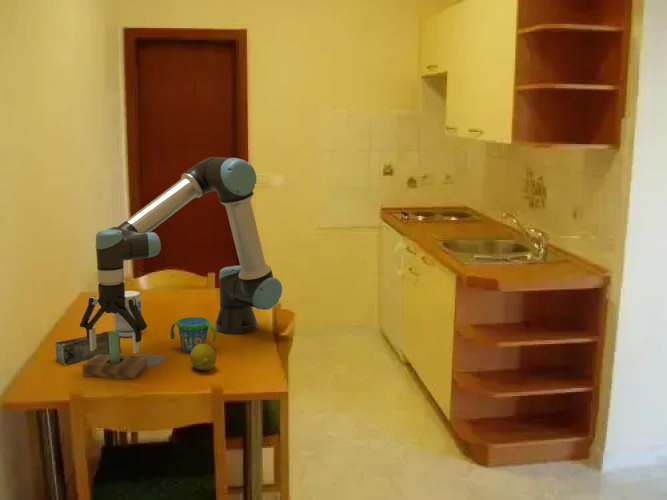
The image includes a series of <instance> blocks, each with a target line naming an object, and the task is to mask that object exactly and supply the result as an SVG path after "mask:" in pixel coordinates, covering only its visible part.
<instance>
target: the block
mask: <svg viewBox="0 0 667 500" xmlns="http://www.w3.org/2000/svg"><path fill="white" fill-rule="evenodd" d="M147 369H148V366H147V357H140V356H137V355H121V354H120V363H119V364H117V363H110V355H106V354H97V355H96V356H94V357H93V358H91V359H88V360H87V361H85V362H84V363H83V364H82V377H86V378H103V379H117V380H118V379H119V380H133V381H134V380H136V378H138V377H140V376H141V374H143V373H144V371H146V370H147Z"/></svg>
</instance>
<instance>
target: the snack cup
mask: <svg viewBox="0 0 667 500" xmlns="http://www.w3.org/2000/svg"><path fill="white" fill-rule="evenodd" d="M175 326H177V329H178V334H179V340H180V345H181V349H182V351H183V352H184V353H189V354H191V351H192V349H193V348H194V347H195V346H197V345H199V344H207V338H208V330H209V328H210V330H211V332H212V333H213V338H212V343H213V344H214V343H215V342H216V340H217V337H218V336H217V330H216V326H214V325H213V323H211V322H210V320H209V319H208V318H206V317H202V316H187V317H183V318H182V317H181V318H180V319H178V320H176V321H175V322H174V323H173V324H172V325H171V326H170V331H169V335H170V339H171V340H174V339H175V335H176V334H175V331H174V330H175Z"/></svg>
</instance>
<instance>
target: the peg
mask: <svg viewBox="0 0 667 500" xmlns="http://www.w3.org/2000/svg"><path fill="white" fill-rule="evenodd" d="M107 332H108V334H109V353H110V363H117V364H119V363H120V355H121V352H120V348H121V345H120V346H119V331H115V330H110V332H109V331H107Z"/></svg>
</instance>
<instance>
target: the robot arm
mask: <svg viewBox="0 0 667 500" xmlns="http://www.w3.org/2000/svg"><path fill="white" fill-rule="evenodd" d="M256 184H257V173H256V171H255V168H254V167H253V166H252V164H251V163H250V162H249V161H247V160H245V159H241V158H238V157H225V156H224V157H223V156H211V157H208V158H205V159H203V160H201V161H200V162H198V163H196V164H195V165H193V166H192V167H190V168H189V169H188V170H186V171H185V172H184V173H183V174H181V176H180V180H178V181H177V182H176V183H174V184H172V185H171V186H170V187H169V188H168V189H166V190H164V191H163V192H162V193H161V194H159V195H158V196H157V197H156V198H155V199H153V200H151V202H149V203H148V204H146V205H145V206H144V207H142V208H141V209H139V210H138V211H137V212H135V214H133V215H132V216H131V217H129V218H128V219H126V220H125V221H124V222H123V223H120V224H119V225H117V226H111V227H108V228H107V229H103V230H99V231H97V232H96V234H95V253H96V267H97V268H96V269H97V282H98V284H97V288H98V297H96V296H95V295H94V296H91V297H89V298H88V303H87V304H88V306H87V308H86V310H85V312H84V314H83V316H82V319H81V321H80V323H79V327H80V328H83V329H86V336H87V339H90V351H93V350H95V349H96V348H97V345H96V334H97V333H96V332H97V331H96V329H97V327H95V325H96V323H97V322H98V321H99V320H100V319H101V317H102V316H103V315H104V313H106V314H113V315H114V314H116V313H119V314H120V315H121V316H122V317H123V318H124V319H125V320H126V321H127V323H128V324H129V325H130V326H131V327H132V329H133V330H134V331H133V332H132V336H131V337H132V354H138V352H139V351H140V342H141V341H142V333H141V331H142V332H143V331H144V330H145V329H147V328H148V324H147V323H146V321H145V319H144V317H143V314H142V315H141V313H140V311H139V309H138V307H137V305H136V300H135V298H132V299H125V291H126V290H125V288H126V287H125V282H124V281H125V271H124V269H125V266H124V265H125V261H132V260H140V259H148V258H152V257H156V256H158V255H159V253H161V252H160V251H161V247H162V243H161V239H160V237H159V235H158V234H157V233H156V232H154V231H153V230H155V229H156V228H158V227H159V226H160V225H161V224H162V223H164V222H165V221H167V220H168V219H169V218H170V217H172V216H173V215H174V214H175V213H177V212H178V211H179V210H181V209H182V208H183V207H184V206H186V205H187V204H188V203H190V202H191V201H192V200H193V199H195V198H197V199H198V198H201V197H203V196H204V195H205V194H208V193H210V192H211V193H212V192H216V193H217V194H216V195H217V197H218V201H219V203H220V204H222V205H223V206H225V210H226V214H227V218H228V222H229V226H230V229H231V233H232V239H233V242H234V246H235V250H236V255H237V258H238V262H239V265H230V266H225V267H223V268H221V269H220V270H219V275H218V281H219V309H218V313H217V317H216V321H215V330H216V332H218V333H219V332H220V333H223V334H232V335H237V334H245V333H246V332H247V333H250V331H251V332H253V330H254V331H255V330H257V329H258V321H257V318H256V314H255V312H254V309H253V308H255V309H257V310H265V311H266V310H270V309H273V308H274V307H275V306H276V305H277V304H278V303H279V301H280V298H281V297H282V294H283V286H282V283H281V281H280V280H279V279H278V278H276V277H274V275H273V271H272V266H270V265H269V264H267V263H266V261H265V255H264V252H263V247H262V243H261V239H260V234H259V230H258V226H257V222H256V218H255V217H256V216H255V214H254V210H253V205H252V202H251V200H252V199H253V196H254V195H255V194H254V191H253V190H254V189H255V187H256V186H255V185H256ZM152 231H153V232H152ZM97 304H98V305H99V306H100V307H99V309H98V310H97V312H96V313H95V314H94V315H93V317H92V318H91V316H92V314H93V312H94V309H95V307H96V305H97ZM125 304H127V306H129V308H130V310H131V312H132V314H133V316H134V318H135V319H134V318H133V317H132V315H131V314H130V313H129V312H128V310H127V308H126V307H125ZM122 310H123V311H122Z"/></svg>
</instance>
